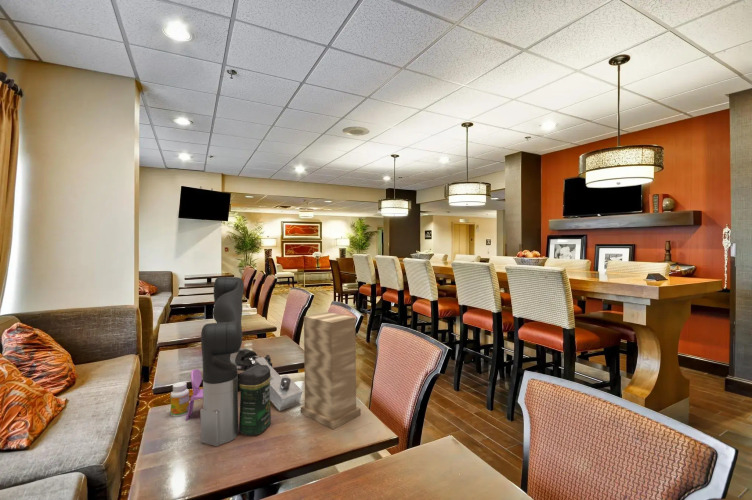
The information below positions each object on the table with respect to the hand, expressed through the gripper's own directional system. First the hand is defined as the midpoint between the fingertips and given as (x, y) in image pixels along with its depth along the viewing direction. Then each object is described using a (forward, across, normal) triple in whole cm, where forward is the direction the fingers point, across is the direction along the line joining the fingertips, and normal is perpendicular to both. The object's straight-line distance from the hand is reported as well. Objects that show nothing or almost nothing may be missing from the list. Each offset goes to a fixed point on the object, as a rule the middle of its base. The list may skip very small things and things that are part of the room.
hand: (266, 367), depth 129 cm
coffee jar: (+18, -15, +11) cm, 26 cm away
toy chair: (-3, -22, +10) cm, 24 cm away
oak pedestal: (+28, +6, +11) cm, 31 cm away
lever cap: (+4, 0, +6) cm, 7 cm away
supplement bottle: (-10, -26, +10) cm, 30 cm away
